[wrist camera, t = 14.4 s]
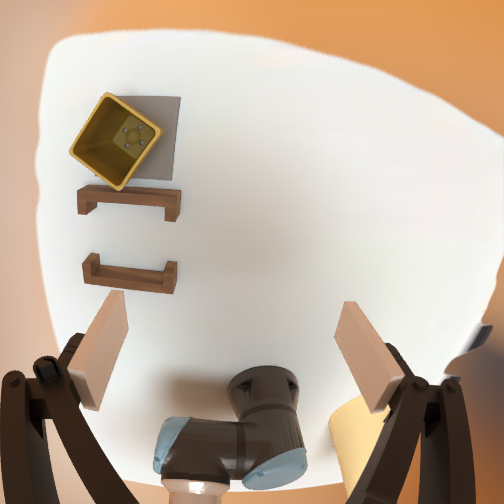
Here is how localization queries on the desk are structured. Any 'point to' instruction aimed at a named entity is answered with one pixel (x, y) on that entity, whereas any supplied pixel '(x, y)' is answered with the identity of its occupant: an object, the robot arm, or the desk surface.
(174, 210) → the pair of brown brackets
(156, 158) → the slate mat
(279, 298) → the desk surface
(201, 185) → the desk surface
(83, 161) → the flower pot
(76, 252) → the desk surface
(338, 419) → the cone light
